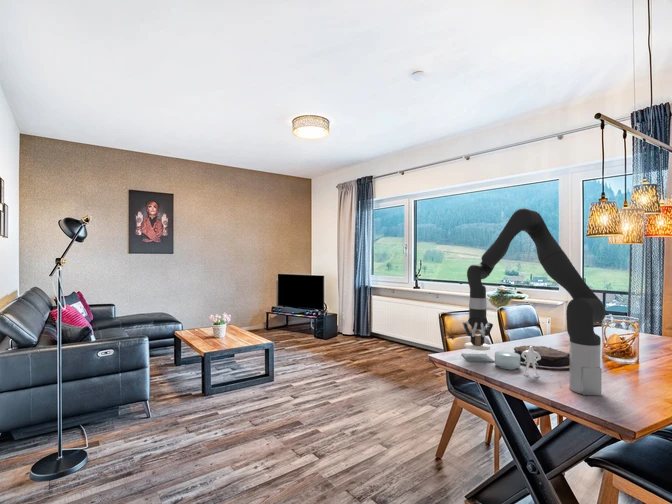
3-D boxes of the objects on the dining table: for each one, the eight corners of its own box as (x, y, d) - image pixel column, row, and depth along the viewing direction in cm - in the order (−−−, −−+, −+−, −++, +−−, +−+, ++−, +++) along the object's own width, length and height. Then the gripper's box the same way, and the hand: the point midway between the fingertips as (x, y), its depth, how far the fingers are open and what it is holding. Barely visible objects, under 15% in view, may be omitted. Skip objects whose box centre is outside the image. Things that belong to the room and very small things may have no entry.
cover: (493, 350, 167) (493, 338, 167) (468, 350, 168) (468, 338, 168) (485, 344, 178) (485, 333, 178) (462, 344, 179) (462, 332, 179)
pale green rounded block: (524, 371, 155) (524, 357, 155) (499, 370, 156) (499, 357, 156) (514, 363, 165) (514, 351, 165) (491, 363, 166) (491, 350, 166)
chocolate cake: (525, 350, 189) (525, 337, 189) (588, 363, 167) (588, 349, 167) (495, 359, 173) (495, 345, 173) (560, 375, 150) (560, 359, 150)
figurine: (541, 375, 149) (541, 346, 149) (540, 379, 145) (540, 348, 145) (521, 372, 152) (521, 343, 152) (520, 375, 149) (520, 345, 149)
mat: (494, 362, 167) (494, 361, 167) (468, 361, 167) (468, 360, 167) (486, 355, 178) (486, 354, 178) (461, 354, 179) (461, 353, 179)
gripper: (464, 308, 170) (464, 346, 170) (496, 308, 168) (495, 347, 169) (460, 305, 177) (459, 342, 177) (490, 306, 176) (490, 342, 176)
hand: (477, 344), depth 173 cm, fingers closed on cover, 3 cm apart
